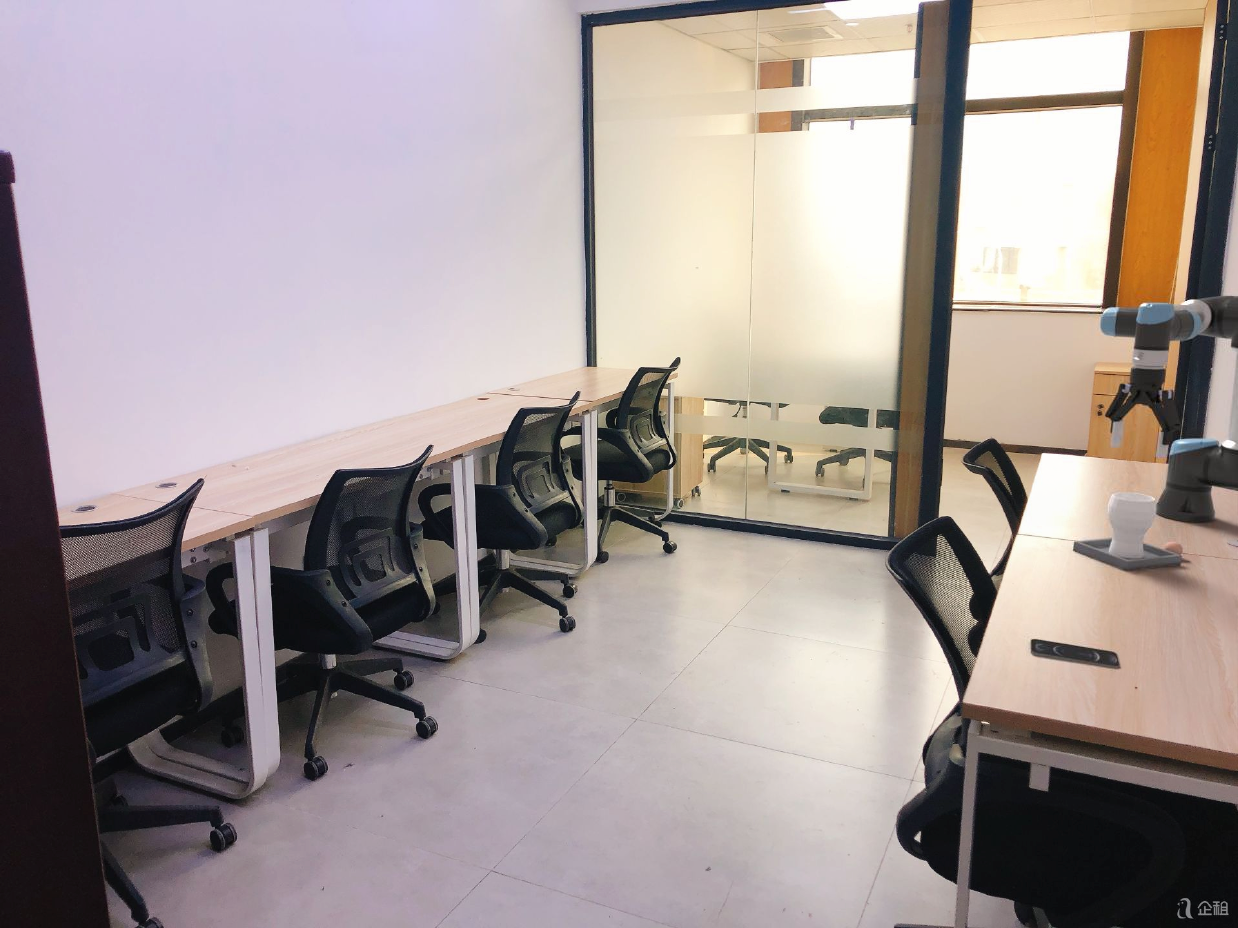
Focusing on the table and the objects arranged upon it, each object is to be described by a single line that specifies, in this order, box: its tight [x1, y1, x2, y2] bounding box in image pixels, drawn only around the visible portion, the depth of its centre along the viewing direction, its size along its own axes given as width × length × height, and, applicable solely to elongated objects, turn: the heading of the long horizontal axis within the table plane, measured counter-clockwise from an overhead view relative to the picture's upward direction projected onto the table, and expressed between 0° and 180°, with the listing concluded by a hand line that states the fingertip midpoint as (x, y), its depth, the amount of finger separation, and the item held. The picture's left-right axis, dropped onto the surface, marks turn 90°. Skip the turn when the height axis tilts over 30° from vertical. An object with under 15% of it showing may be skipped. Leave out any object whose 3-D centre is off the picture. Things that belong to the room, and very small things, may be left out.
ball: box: [1163, 541, 1183, 555], centre depth 234 cm, size 4×4×4 cm
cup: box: [1107, 491, 1157, 559], centre depth 232 cm, size 11×11×15 cm
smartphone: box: [1030, 638, 1121, 669], centre depth 175 cm, size 8×1×15 cm
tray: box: [1072, 537, 1183, 572], centre depth 233 cm, size 17×17×2 cm
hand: (1137, 452), depth 230 cm, fingers open, 13 cm apart
